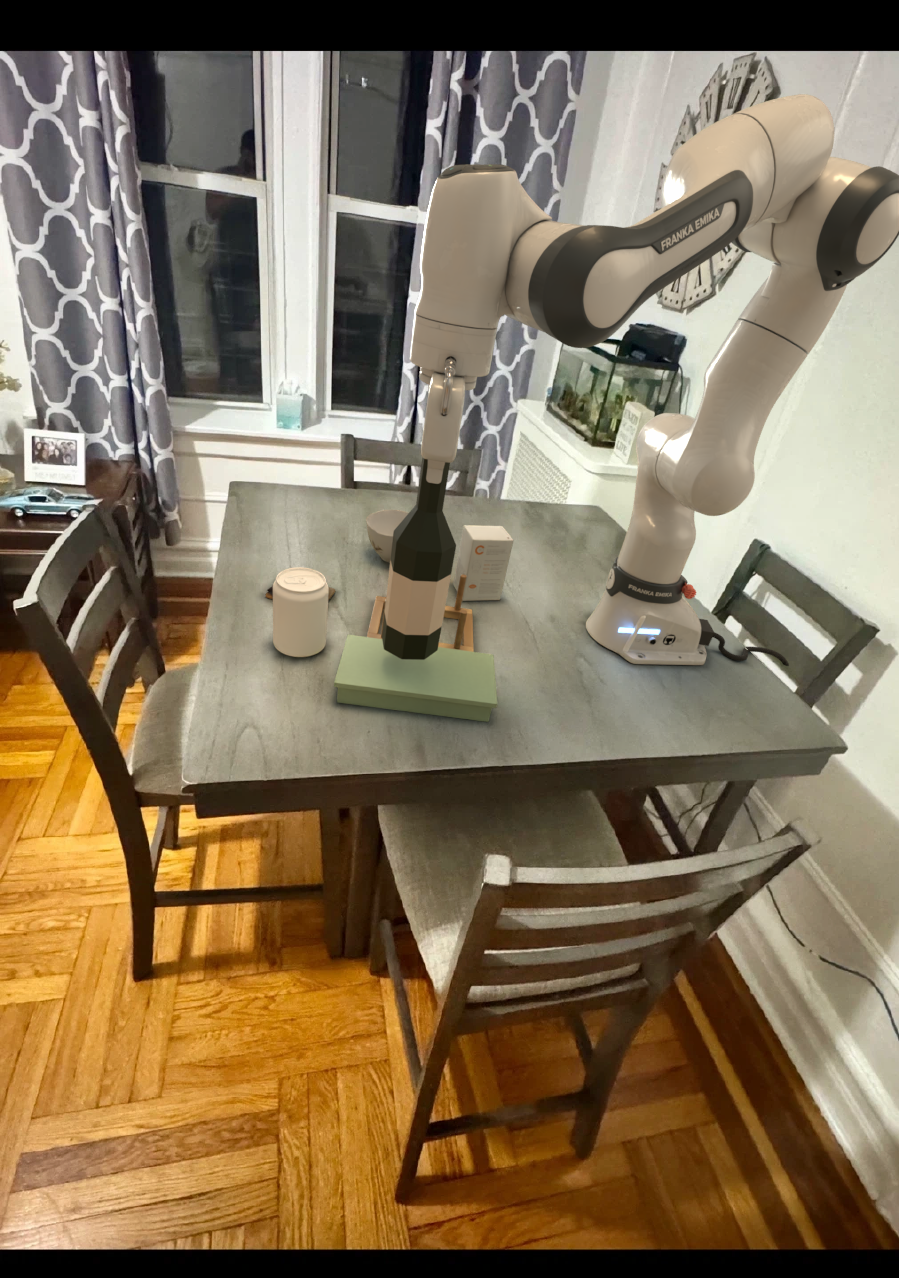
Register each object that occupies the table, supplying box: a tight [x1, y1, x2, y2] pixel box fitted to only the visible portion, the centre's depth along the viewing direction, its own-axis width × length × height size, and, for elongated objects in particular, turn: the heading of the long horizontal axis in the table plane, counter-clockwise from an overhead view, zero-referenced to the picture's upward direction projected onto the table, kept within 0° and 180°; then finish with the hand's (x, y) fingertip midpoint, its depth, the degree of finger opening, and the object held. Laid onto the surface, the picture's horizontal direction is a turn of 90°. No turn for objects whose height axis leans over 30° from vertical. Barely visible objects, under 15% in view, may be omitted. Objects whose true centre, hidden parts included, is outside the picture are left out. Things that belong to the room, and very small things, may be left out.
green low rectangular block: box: [333, 634, 498, 723], centre depth 90 cm, size 23×12×4 cm, turn 89°
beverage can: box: [272, 566, 330, 658], centre depth 92 cm, size 8×8×12 cm
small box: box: [452, 524, 515, 602], centre depth 115 cm, size 8×6×13 cm
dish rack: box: [366, 574, 475, 652], centre depth 102 cm, size 18×14×9 cm
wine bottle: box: [381, 456, 457, 660], centre depth 78 cm, size 8×8×30 cm
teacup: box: [365, 509, 409, 564], centre depth 123 cm, size 15×12×8 cm
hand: (434, 474), depth 72 cm, fingers closed on wine bottle, 3 cm apart
